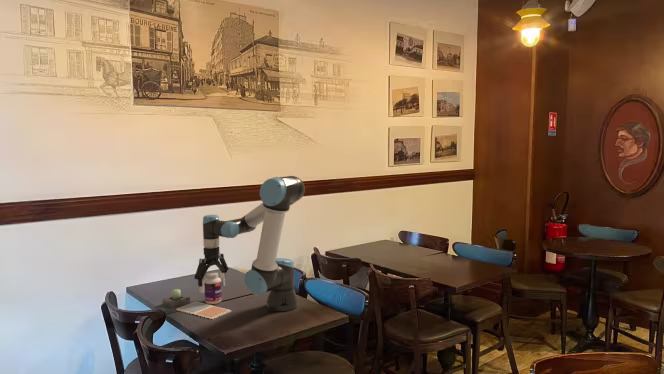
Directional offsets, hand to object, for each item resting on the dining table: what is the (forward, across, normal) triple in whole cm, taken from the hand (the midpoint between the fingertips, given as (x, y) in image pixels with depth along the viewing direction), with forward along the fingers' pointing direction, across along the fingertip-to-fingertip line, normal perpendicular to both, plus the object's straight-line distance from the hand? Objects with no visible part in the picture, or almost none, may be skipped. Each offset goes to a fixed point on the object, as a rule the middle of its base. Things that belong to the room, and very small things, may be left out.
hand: (212, 288), depth 235 cm
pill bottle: (+7, 0, +1) cm, 7 cm away
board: (+7, +11, +6) cm, 14 cm away
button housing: (+7, +11, -13) cm, 19 cm away
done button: (+4, +11, -13) cm, 18 cm away
